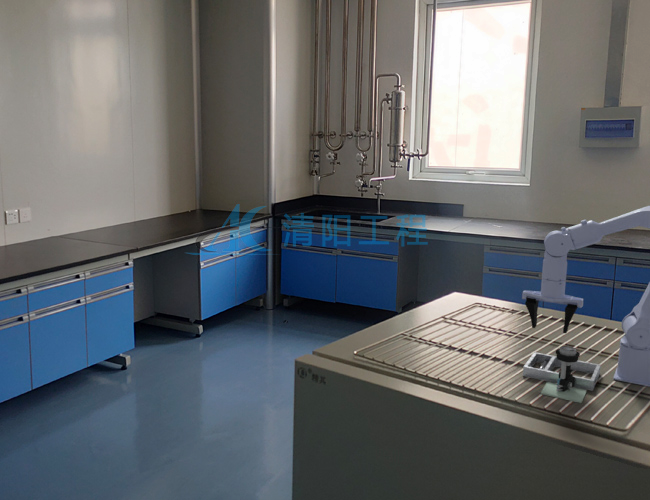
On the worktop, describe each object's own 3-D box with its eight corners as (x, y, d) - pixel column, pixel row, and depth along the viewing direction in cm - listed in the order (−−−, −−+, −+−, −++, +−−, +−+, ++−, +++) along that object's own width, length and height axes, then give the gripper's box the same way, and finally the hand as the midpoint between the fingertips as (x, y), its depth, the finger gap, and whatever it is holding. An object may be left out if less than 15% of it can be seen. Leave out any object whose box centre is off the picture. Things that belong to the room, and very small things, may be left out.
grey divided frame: (599, 374, 154) (600, 364, 153) (592, 390, 144) (593, 381, 143) (533, 360, 162) (534, 352, 161) (522, 376, 152) (523, 366, 152)
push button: (567, 396, 140) (571, 356, 138) (545, 389, 144) (549, 350, 142) (580, 388, 144) (584, 348, 142) (559, 381, 148) (562, 342, 146)
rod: (542, 366, 159) (548, 367, 158) (535, 376, 153) (541, 378, 152) (542, 360, 159) (548, 361, 158) (535, 370, 152) (541, 372, 151)
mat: (586, 391, 144) (586, 390, 143) (581, 403, 138) (581, 401, 138) (547, 383, 148) (547, 381, 148) (540, 393, 142) (540, 392, 142)
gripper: (520, 278, 153) (517, 328, 156) (581, 286, 146) (576, 339, 148) (527, 272, 159) (523, 321, 162) (586, 279, 152) (581, 331, 154)
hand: (549, 329), depth 156 cm, fingers open, 7 cm apart
